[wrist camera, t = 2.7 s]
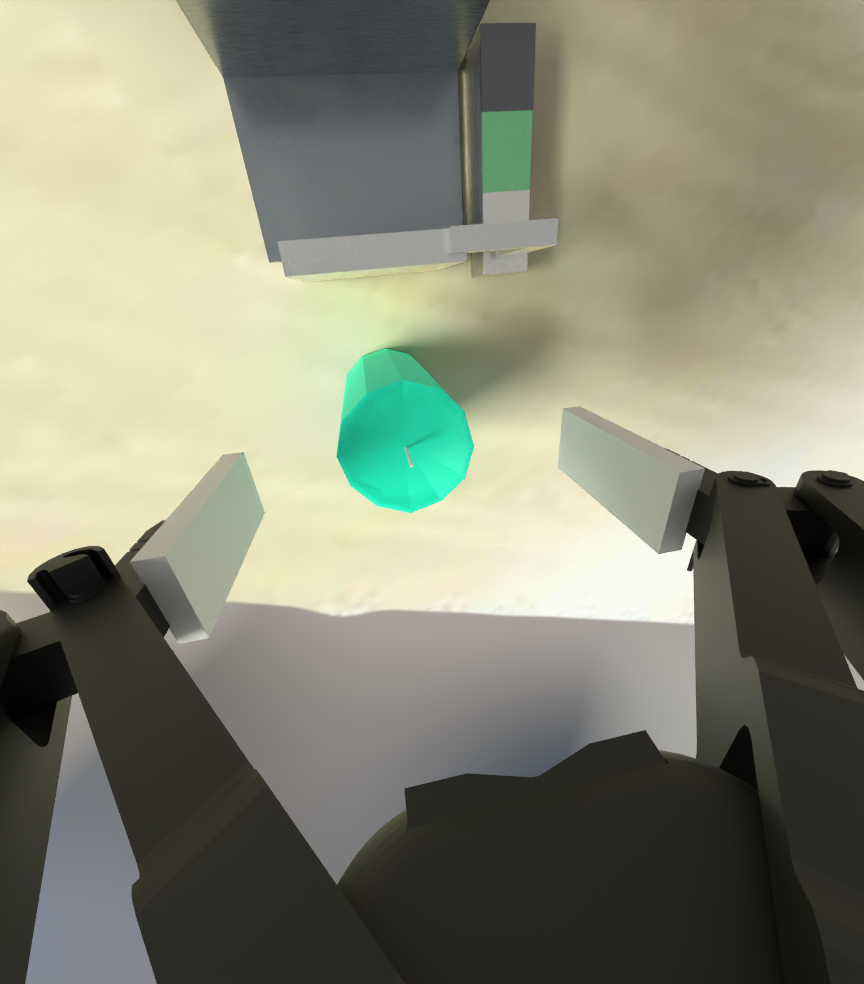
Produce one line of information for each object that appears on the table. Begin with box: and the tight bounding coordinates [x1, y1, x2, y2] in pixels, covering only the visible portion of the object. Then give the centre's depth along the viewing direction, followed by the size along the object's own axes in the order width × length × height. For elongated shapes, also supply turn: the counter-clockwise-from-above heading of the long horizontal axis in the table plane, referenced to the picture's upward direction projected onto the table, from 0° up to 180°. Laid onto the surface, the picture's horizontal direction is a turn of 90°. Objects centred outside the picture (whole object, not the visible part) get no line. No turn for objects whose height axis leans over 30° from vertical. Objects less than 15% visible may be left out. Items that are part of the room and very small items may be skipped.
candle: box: [337, 348, 474, 513], centre depth 20 cm, size 6×6×12 cm
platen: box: [277, 218, 559, 282], centre depth 18 cm, size 12×1×7 cm, turn 95°
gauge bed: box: [176, 0, 536, 277], centre depth 17 cm, size 14×9×6 cm
